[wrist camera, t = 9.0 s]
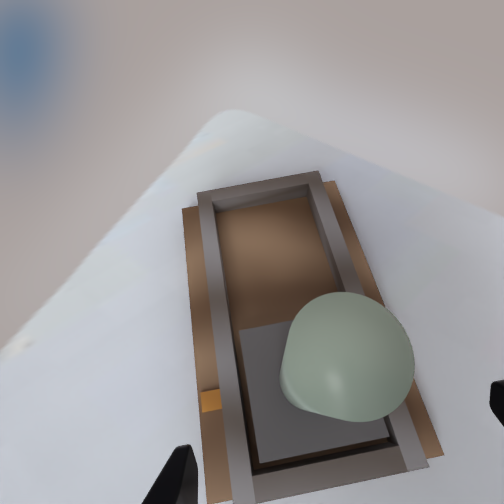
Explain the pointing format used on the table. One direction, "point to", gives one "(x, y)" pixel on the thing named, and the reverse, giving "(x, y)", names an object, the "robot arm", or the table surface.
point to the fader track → (270, 312)
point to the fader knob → (326, 375)
